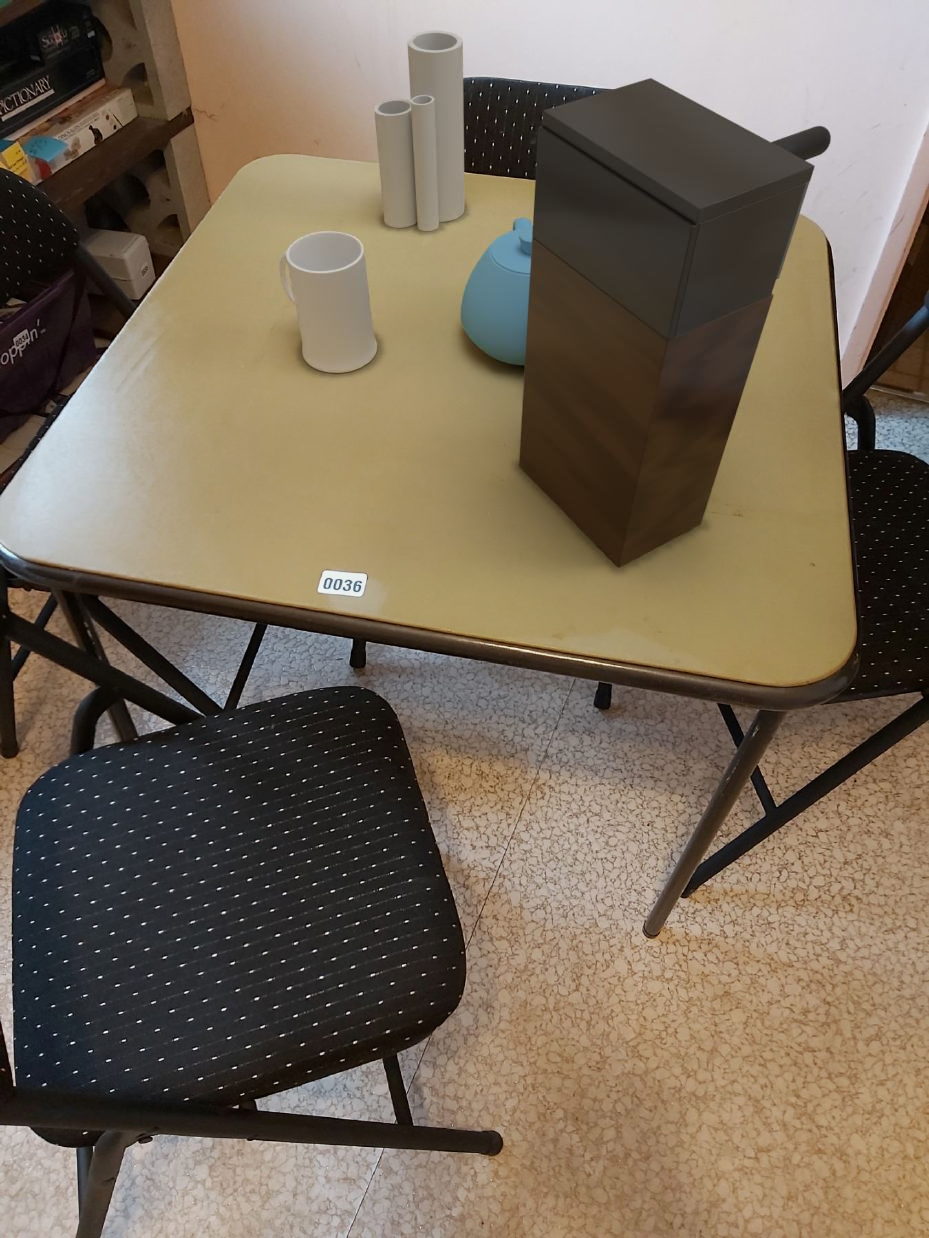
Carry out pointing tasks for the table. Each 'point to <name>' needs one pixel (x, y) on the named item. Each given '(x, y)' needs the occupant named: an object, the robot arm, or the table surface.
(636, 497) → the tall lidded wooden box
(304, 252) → the mug
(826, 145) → the top drawer
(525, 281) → the teapot
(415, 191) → the vase
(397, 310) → the table surface
